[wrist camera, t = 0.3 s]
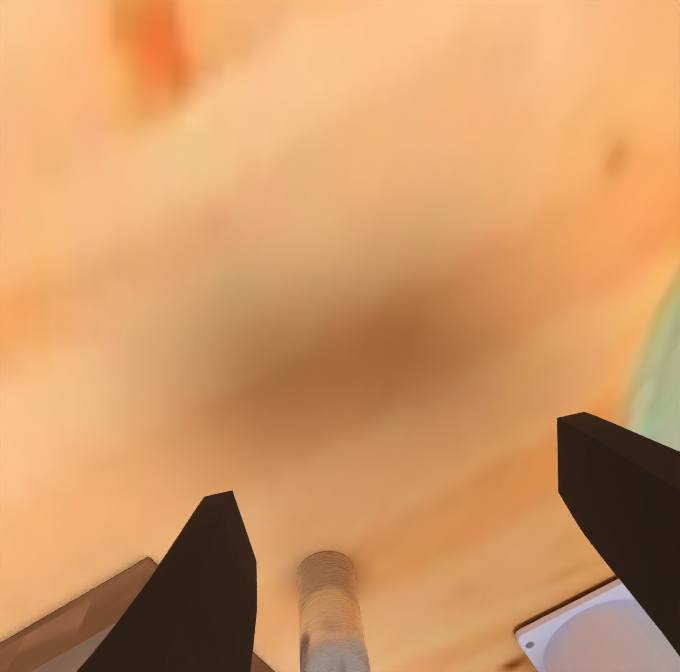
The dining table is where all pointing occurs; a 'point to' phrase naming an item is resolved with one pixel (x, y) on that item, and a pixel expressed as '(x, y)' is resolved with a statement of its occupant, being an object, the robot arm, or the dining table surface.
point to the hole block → (80, 627)
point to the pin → (330, 616)
